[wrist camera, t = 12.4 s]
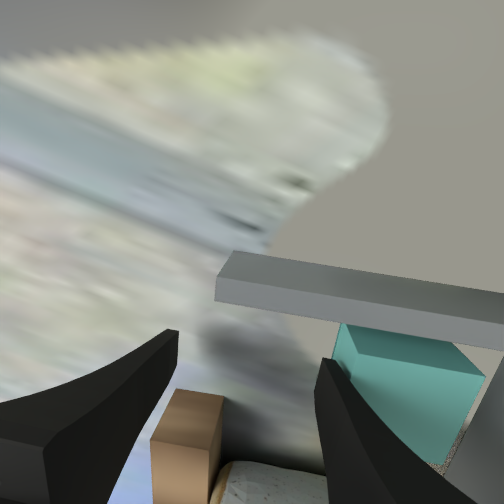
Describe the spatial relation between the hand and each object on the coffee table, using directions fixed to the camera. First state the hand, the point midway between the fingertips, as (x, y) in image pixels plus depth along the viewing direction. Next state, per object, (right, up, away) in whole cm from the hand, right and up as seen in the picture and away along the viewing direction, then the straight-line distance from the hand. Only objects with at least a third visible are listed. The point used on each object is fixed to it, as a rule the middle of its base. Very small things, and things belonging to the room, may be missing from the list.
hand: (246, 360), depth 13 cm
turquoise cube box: (+7, -1, +1) cm, 7 cm away
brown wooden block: (-3, -9, +5) cm, 11 cm away
